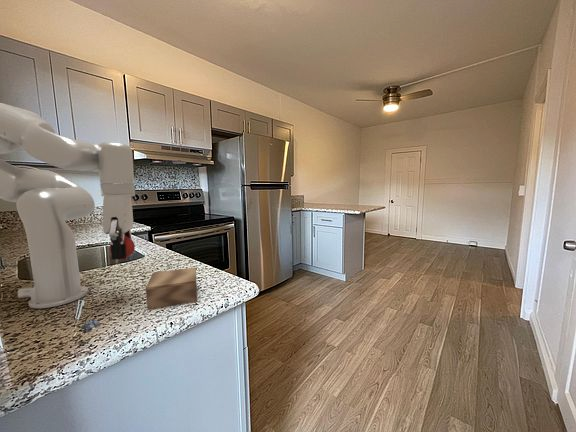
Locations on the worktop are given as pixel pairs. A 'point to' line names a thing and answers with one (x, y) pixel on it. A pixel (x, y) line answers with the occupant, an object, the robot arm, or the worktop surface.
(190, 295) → the walnut block
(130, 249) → the onion
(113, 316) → the worktop surface
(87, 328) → the blueberries
